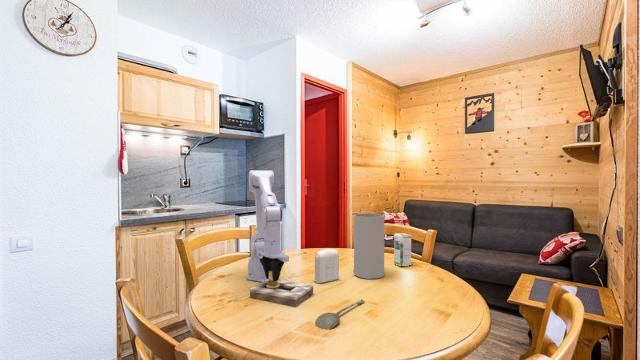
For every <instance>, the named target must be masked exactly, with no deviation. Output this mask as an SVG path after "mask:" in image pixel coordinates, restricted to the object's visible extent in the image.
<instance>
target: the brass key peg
mask: <svg viewBox="0 0 640 360" xmlns="http://www.w3.org/2000/svg"><path fill="white" fill-rule="evenodd" d="M268 276H269V283H268V284H266V288H268V289H273V290H276V289H279V288H280V283H278V282H277V280H276V281H273V278H272V269H270V270H268Z"/></svg>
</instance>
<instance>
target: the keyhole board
mask: <svg viewBox="0 0 640 360" xmlns="http://www.w3.org/2000/svg"><path fill="white" fill-rule="evenodd" d="M277 282H278V283H280V288H279V289H276V290H273V289H268V288H266V284H268V283H269V279H268V280H266V281H264V282H260V283H259V284H256V285H255V286H252V287H250V288H249V298H251V299H257V300H261V301H265V302H270V303H274V304H275V303H276V304H280V305H286V306H290V307H294V308H296V307H298V306H299V305H301V304H302V303H303V302H305V301H306V300H308V299H309V298H310V297H311V296H313V295H314V285H313V284H308V283H302V282H301V283H300V282H295V281H289V280H284V279H279V280H277Z"/></svg>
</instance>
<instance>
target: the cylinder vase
mask: <svg viewBox="0 0 640 360" xmlns="http://www.w3.org/2000/svg"><path fill="white" fill-rule="evenodd" d="M353 274H354V276H355V277H358V278H360V279H366V280H377V279H378V280H379V279H380V278H383V277H384V276H385V215H384V214H381V213H372V212H371V213H364V212H362V213H355V214H354V216H353Z"/></svg>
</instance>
